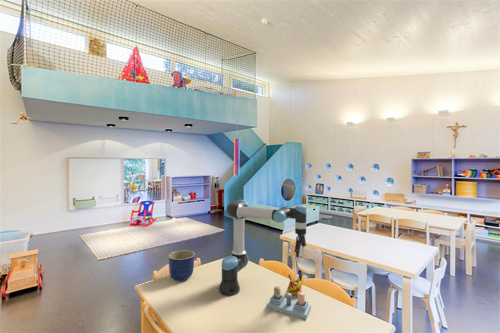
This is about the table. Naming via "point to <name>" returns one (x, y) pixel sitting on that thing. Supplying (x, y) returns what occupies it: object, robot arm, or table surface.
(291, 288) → the toy
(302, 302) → the knob coral
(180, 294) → the table surface
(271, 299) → the mount board
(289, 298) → the dial post
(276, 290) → the knob beech
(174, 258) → the planter
